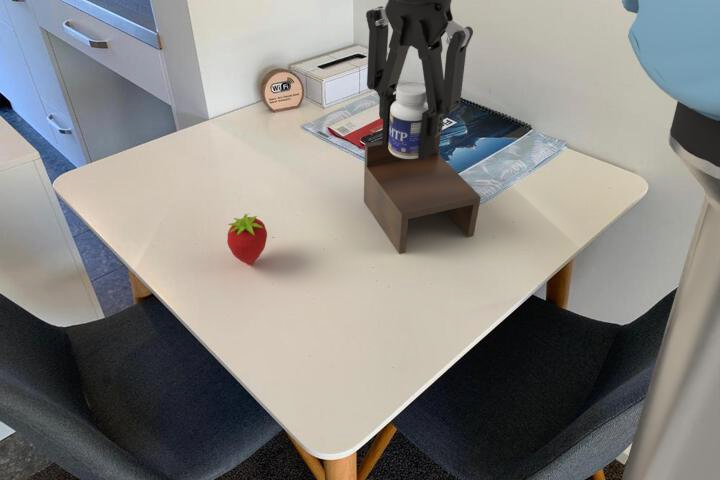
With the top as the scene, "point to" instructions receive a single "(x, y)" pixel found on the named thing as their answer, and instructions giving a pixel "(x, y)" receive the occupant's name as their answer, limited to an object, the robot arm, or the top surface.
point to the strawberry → (247, 239)
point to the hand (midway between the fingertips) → (407, 148)
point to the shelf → (415, 191)
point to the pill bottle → (407, 120)
